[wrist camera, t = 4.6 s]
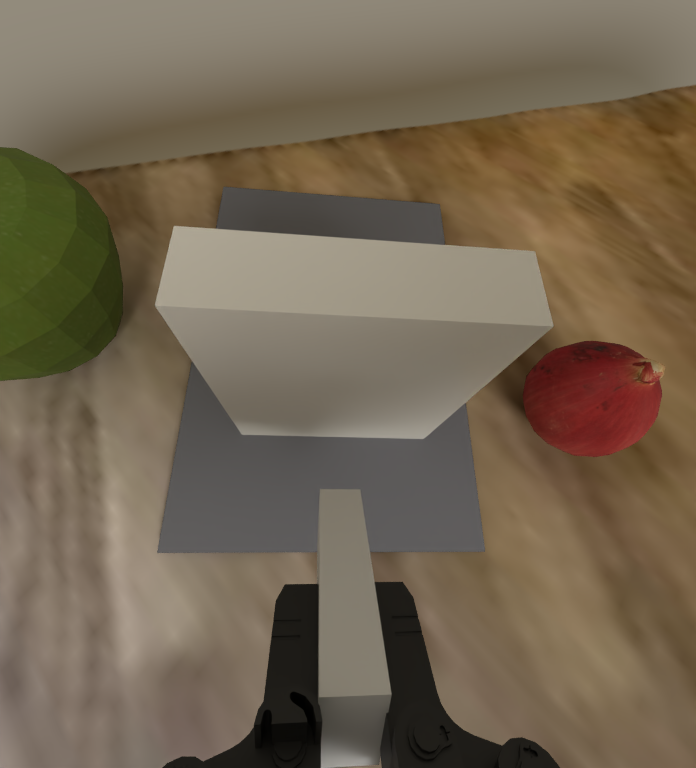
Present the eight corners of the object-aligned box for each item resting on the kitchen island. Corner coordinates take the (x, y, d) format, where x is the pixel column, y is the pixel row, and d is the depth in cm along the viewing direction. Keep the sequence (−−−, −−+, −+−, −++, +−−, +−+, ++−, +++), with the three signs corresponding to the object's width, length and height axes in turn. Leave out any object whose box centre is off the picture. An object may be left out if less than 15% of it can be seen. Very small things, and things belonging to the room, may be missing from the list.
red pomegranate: (481, 390, 23) (562, 320, 15) (557, 365, 24) (665, 290, 17) (527, 481, 21) (645, 450, 14) (607, 449, 22) (755, 405, 15)
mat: (479, 550, 19) (485, 551, 19) (162, 552, 18) (157, 552, 17) (437, 210, 28) (439, 204, 28) (225, 193, 27) (223, 186, 26)
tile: (423, 439, 21) (553, 326, 10) (241, 434, 20) (154, 305, 9) (419, 393, 22) (533, 244, 11) (247, 387, 21) (175, 218, 10)
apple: (108, 235, 25) (-11, 57, 16) (197, 342, 22) (119, 207, 13) (-70, 321, 21) (-360, 157, 12) (12, 459, 19) (-271, 386, 10)
